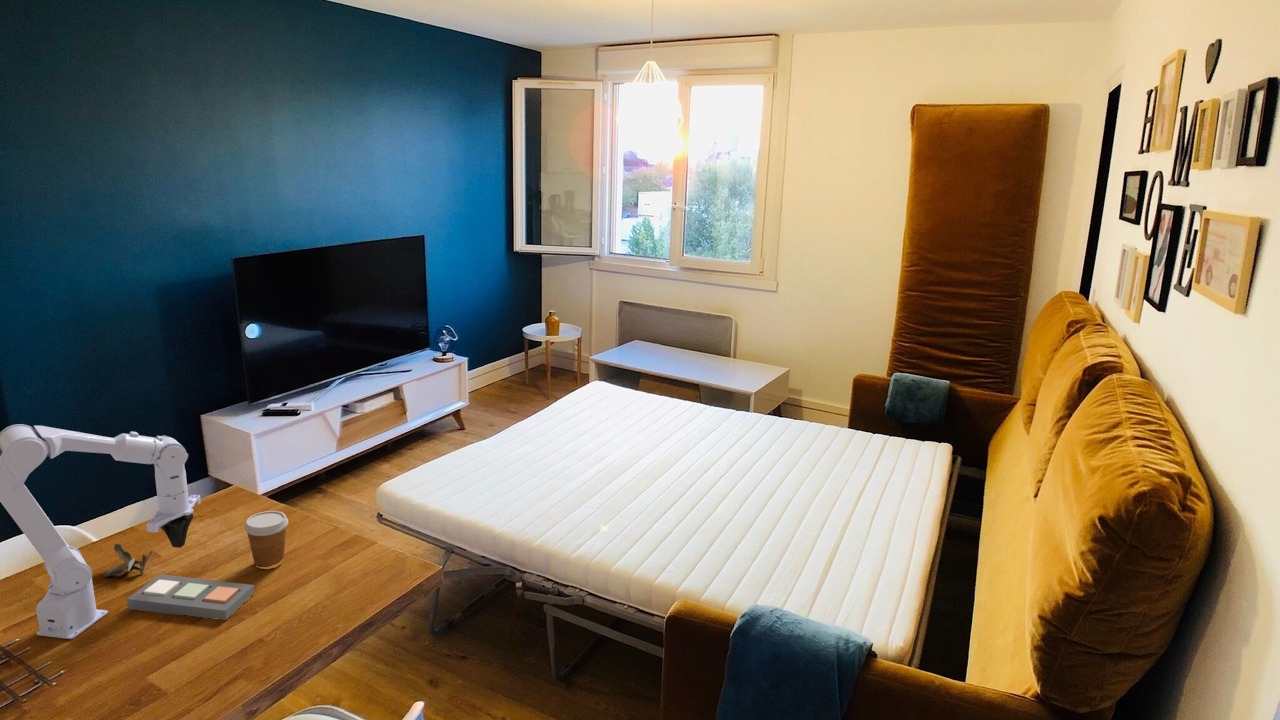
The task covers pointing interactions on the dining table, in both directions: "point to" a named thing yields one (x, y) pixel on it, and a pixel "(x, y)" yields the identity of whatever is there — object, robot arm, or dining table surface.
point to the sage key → (191, 591)
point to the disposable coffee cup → (267, 537)
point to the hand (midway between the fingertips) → (178, 545)
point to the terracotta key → (221, 595)
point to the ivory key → (161, 588)
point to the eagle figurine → (126, 562)
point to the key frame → (190, 606)
